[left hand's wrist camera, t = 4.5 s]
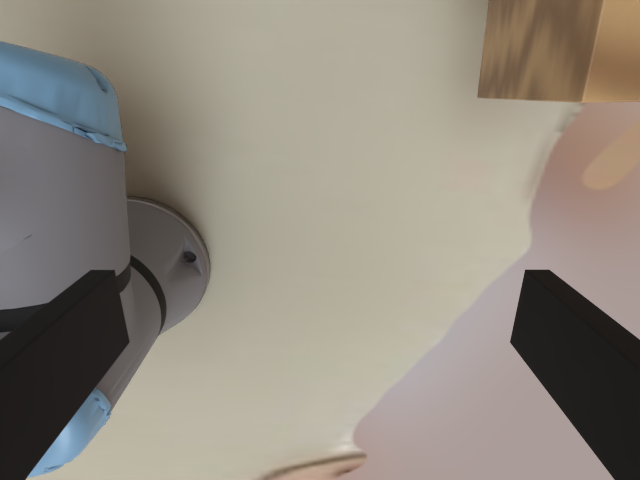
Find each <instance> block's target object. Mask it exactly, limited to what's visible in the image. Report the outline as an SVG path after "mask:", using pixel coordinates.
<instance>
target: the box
mask: <svg viewBox="0 0 640 480" xmlns="http://www.w3.org/2000/svg"><path fill="white" fill-rule="evenodd" d="M477 97H478V98H490V99H512V100H534V101H556V102H578V103H591V102H640V0H489V5H488V13H487V21H486V29H485V38H484V46H483V54H482V63H481V71H480V79H479V88H478V96H477Z"/></svg>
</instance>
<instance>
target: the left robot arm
mask: <svg viewBox="0 0 640 480" xmlns="http://www.w3.org/2000/svg"><path fill="white" fill-rule="evenodd" d="M124 151H127V146H126V143H124V142H123V137H122V130H121V123H120V115H119V106H118V98H117V94H116V92H115V89H114V87H113V86H112V84H111V83H110V81H109V80H108V79H107V78H106V77H105V76H104V75H103V74H102V73H100V72H99V71H98V70H96V69H94V68H92V67H90V66H88V65H85V64H82V63H79V62H76V61H73V60H70V59H66V58H63V57H59V56H56V55H52V54H48V53H44V52H41V51H37V50H33V49H29V48H26V47H22V46H18V45H14V44H10V43H6V42H2V41H0V480H25V479H26V478H28V477H34V476H39V475H43V474H46V473H49V472H52V471H54V470H56V469H58V468H60V467H62V466H63V465H64V464H65V463H68V462H70V461H72V460H73V459H75V458H76V457H77V456H78V455H79V454H80V453H81V452H82V451H83V450H84V448H85V447H86V446H87V445H88V443H89V442H90V441H91V440H92V438H93V437H94V436H95V435H96V434H97V432H98V431H99V430H100V429H101V427H103V426H104V425H105V424H106V422H107V420H108V419H109V418H110V415H111V411H112V409H113V407H114V406H115V404H116V403H117V401H118V399H119V398H120V396H121V395H122V393H123V391H124V390H125V388H126V387H127V385H128V383H129V382H130V380H131V379H132V377H133V375H134V374H135V372H136V371H137V369H138V367H139V366H140V364H141V363H142V361H143V359H144V358H145V356H146V355H147V353H148V351H149V350H150V348H151V347H152V345H153V343H154V342H155V340H156V338H157V337H158V335H160V334H162V333H163V332H165V331H166V330H168V329H170V328H171V327H173V326H174V325H176V324H178V323H179V322H181V321H182V320H184V319H185V318H186V317H187V316H188V315H189V314H190V313H191V312H192V311H193V310H194V309H195V308H196V306H197V305H198V304H199V302H200V300H201V299H202V297H203V295H204V293H205V291H206V289H207V286H208V282H209V277H210V262H209V256H208V253H207V250H206V247H205V245H204V243H203V240H202V239H201V237H200V235H199V234H198V232H197V231H196V230H195V228H194V227H193V226H192V225H191V224H190V223H189V222H188V221H187V220H186V219H185V218H184V217H183V216H181V215H180V214H179V213H177V212H176V211H174V210H173V209H171V208H169V207H168V206H166V205H163V204H161V203H159V202H156V201H153V200H150V199H145V198H140V197H127V196H126V176H125V156H124ZM510 343H511V344H512V345H513V347H514V348H515V349H516V351H517V352H518V353H519V355H520V356H521V357H522V358H523V360H524V361H525V362H526V364H527V365H528V366H529V368H530V369H531V370H532V372H533V373H534V374H535V376H536V377H537V378H538V379H539V381H540V382H541V383H542V385H543V386H544V387H545V389H546V390H547V391H548V393H549V394H550V395H551V397H552V398H553V399H554V400H555V402H556V403H557V404H558V406H559V407H560V408H561V410H562V411H563V412H564V414H565V415H566V416H567V418H568V419H569V420H570V422H571V423H572V424H573V426H574V427H575V428H576V429H577V431H578V432H579V433H580V435H581V436H582V437H583V439H584V440H585V441H586V443H587V444H588V445H589V446H590V448H591V449H592V450H593V452H594V453H595V454H596V456H597V457H598V458H599V460H600V461H601V462H602V464H603V465H604V466H605V467H606V469H607V470H608V471H609V473H610V474H611V475H612V477H613V478H614V479H615V480H640V340H639V339H638V338H637V337H635V336H634V335H633V334H631V333H630V332H629V331H628V330H626V329H625V328H624V327H622V326H621V325H620V324H619V323H617V322H616V321H615V320H613V319H612V318H611V317H610V316H608V315H607V314H606V313H604V312H603V311H602V310H600V309H599V308H598V307H597V306H595V305H594V304H593V303H591V302H590V301H589V300H588V299H586V298H585V297H584V296H582V295H581V294H580V293H578V292H577V291H576V290H575V289H573V288H572V287H571V286H569V285H568V284H567V283H566V282H564V281H563V280H562V279H560V278H559V277H558V276H557V275H555V274H554V273H553V272H551V271H550V270H525V274H524V278H523V283H522V288H521V293H520V297H519V302H518V307H517V312H516V317H515V322H514V326H513V331H512V336H511V341H510Z"/></svg>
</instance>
